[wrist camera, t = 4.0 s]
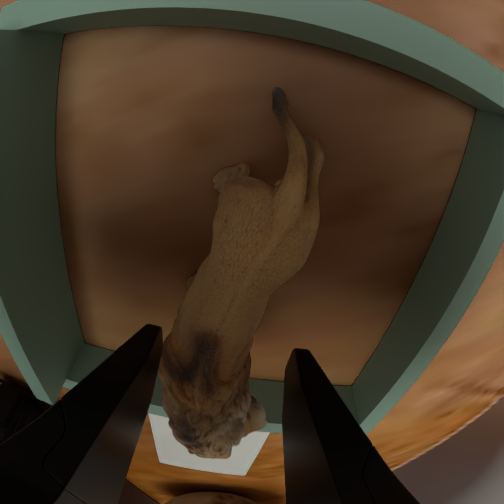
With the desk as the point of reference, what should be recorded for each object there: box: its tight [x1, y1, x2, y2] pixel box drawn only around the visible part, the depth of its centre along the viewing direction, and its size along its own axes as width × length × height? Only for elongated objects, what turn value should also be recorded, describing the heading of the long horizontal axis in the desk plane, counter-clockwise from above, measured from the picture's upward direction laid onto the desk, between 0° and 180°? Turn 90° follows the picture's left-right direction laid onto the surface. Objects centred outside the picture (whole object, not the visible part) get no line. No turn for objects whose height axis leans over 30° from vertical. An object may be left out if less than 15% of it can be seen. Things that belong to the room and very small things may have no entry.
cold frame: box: [0, 0, 504, 434], centre depth 11 cm, size 19×19×5 cm
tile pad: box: [149, 413, 270, 476], centre depth 22 cm, size 15×9×1 cm, turn 170°
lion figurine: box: [158, 87, 325, 459], centre depth 9 cm, size 12×4×7 cm, turn 169°
